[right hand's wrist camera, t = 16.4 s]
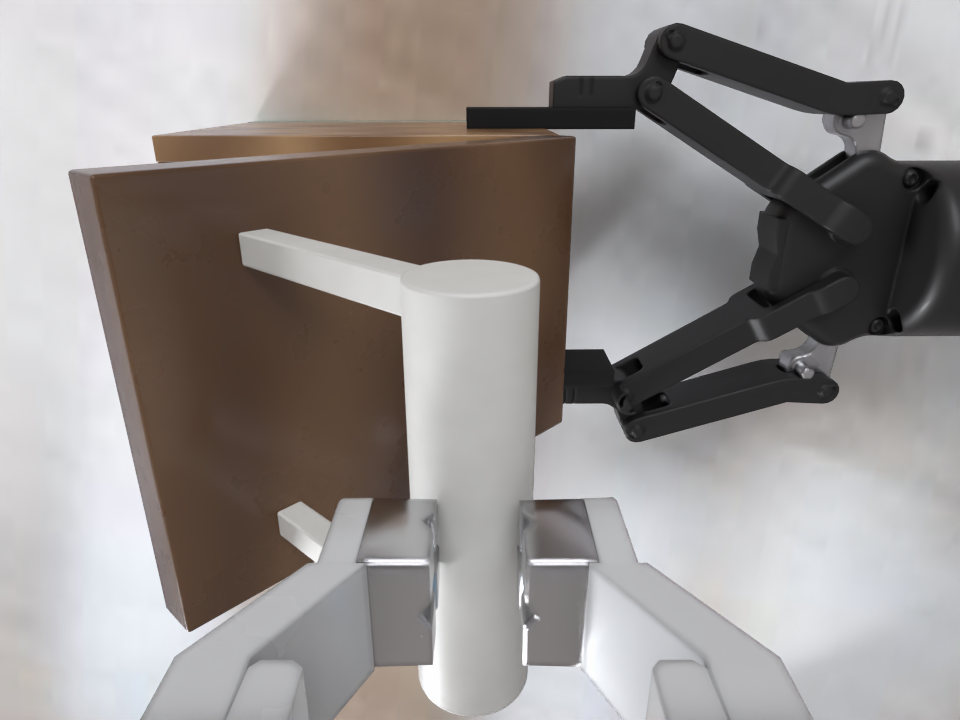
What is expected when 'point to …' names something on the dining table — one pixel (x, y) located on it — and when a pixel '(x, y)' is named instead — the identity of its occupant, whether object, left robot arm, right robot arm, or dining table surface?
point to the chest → (316, 137)
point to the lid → (340, 365)
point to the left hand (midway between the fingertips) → (467, 251)
